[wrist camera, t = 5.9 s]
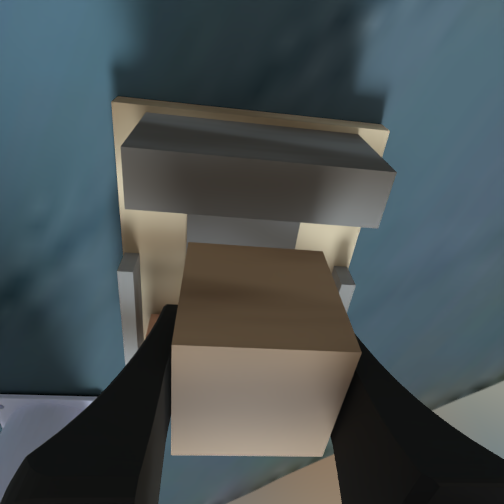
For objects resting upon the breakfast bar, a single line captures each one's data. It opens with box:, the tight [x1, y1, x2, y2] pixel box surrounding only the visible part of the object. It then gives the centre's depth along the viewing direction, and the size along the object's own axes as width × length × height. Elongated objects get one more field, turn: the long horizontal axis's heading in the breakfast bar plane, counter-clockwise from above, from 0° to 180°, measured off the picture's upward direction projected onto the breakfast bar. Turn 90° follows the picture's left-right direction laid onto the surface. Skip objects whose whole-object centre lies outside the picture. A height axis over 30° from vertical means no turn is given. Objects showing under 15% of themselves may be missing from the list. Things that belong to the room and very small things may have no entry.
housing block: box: [171, 242, 362, 457], centre depth 13 cm, size 5×5×5 cm
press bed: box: [111, 96, 397, 365], centre depth 21 cm, size 16×13×6 cm
